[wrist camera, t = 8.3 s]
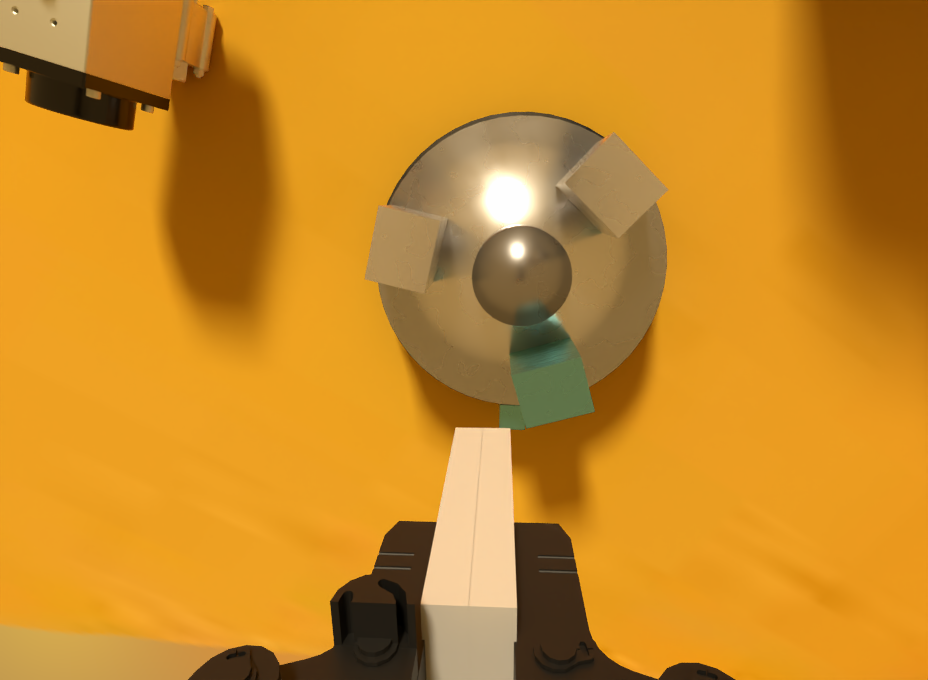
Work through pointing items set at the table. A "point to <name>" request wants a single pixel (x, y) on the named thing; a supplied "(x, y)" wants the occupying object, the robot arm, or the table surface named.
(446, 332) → the lathe chuck
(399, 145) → the table surface
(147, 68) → the pneumatic valve
